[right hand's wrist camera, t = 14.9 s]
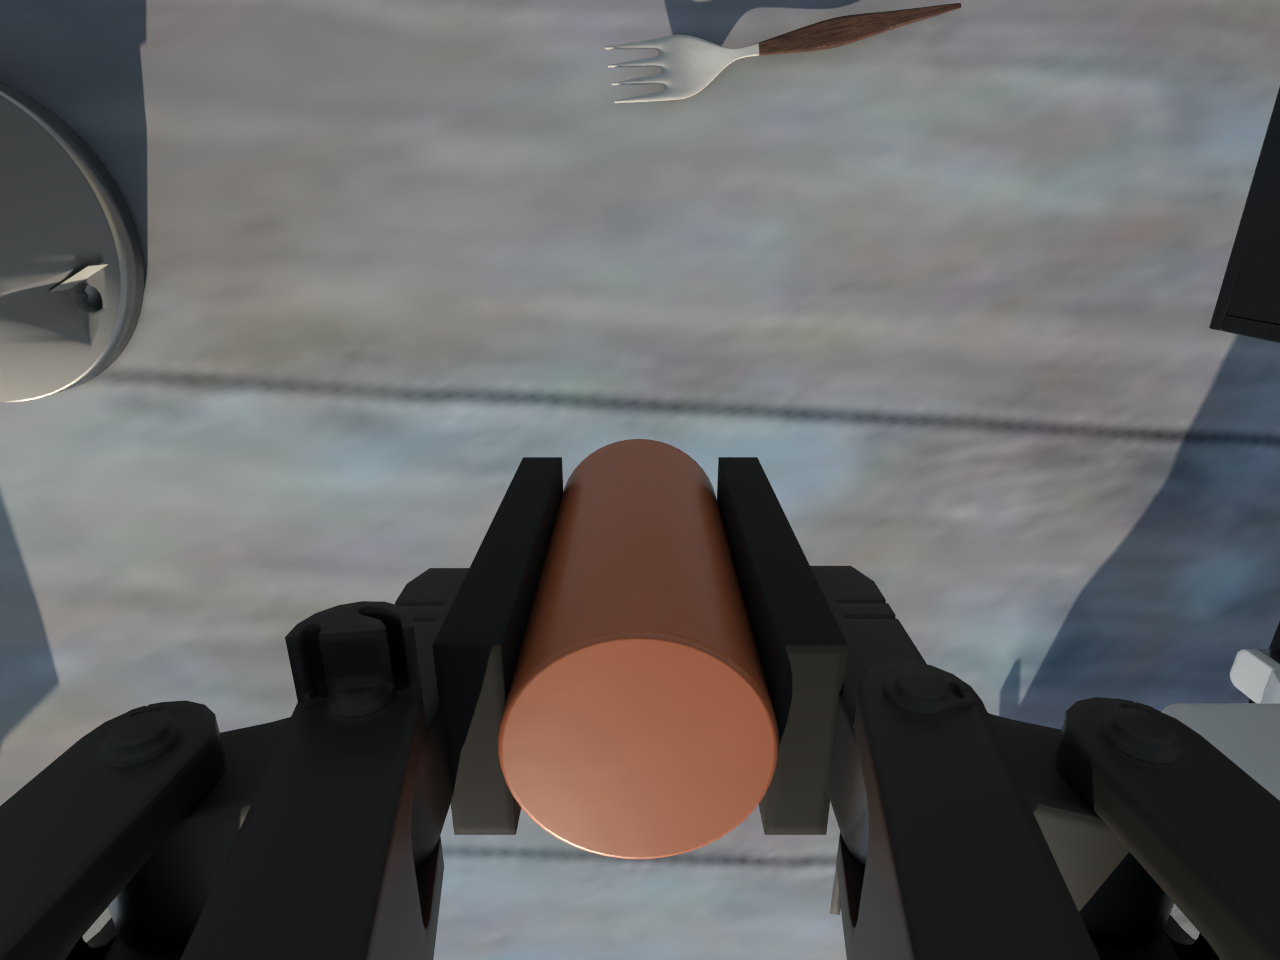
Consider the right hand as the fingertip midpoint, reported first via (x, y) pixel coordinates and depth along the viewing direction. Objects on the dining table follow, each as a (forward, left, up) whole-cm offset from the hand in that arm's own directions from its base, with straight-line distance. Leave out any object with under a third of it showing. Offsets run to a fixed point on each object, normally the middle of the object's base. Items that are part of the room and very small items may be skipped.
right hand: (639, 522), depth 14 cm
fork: (-9, +11, -25) cm, 29 cm away
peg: (0, 0, 0) cm, 0 cm away
